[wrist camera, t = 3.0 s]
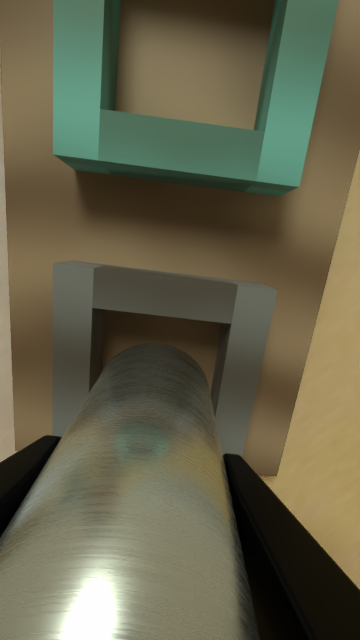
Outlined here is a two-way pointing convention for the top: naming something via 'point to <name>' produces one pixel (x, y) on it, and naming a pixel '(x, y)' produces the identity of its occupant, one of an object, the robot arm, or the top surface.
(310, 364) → the top surface
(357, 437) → the top surface
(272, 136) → the dock plate
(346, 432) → the top surface
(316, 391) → the top surface
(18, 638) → the steel pin
